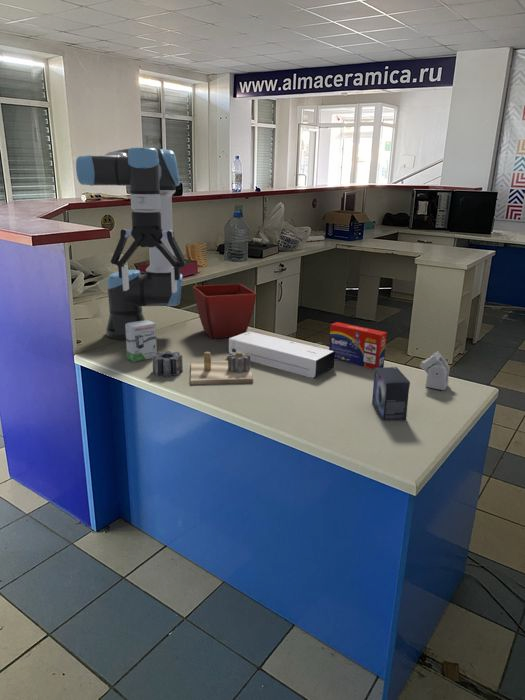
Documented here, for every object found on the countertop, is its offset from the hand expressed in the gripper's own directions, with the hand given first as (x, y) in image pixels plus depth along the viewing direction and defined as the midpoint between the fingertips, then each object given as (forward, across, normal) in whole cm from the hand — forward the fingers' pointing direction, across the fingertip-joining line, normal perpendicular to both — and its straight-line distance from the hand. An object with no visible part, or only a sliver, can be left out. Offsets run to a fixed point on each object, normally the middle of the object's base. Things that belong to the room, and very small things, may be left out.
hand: (150, 291), depth 145 cm
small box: (+27, +65, -11) cm, 71 cm away
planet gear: (+27, +1, +9) cm, 28 cm away
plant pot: (+27, +11, +51) cm, 59 cm away
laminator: (+27, +34, +22) cm, 49 cm away
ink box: (+27, -10, +20) cm, 35 cm away
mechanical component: (+27, +80, +9) cm, 85 cm away
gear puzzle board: (+27, +18, +9) cm, 33 cm away
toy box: (+27, +59, +26) cm, 70 cm away
